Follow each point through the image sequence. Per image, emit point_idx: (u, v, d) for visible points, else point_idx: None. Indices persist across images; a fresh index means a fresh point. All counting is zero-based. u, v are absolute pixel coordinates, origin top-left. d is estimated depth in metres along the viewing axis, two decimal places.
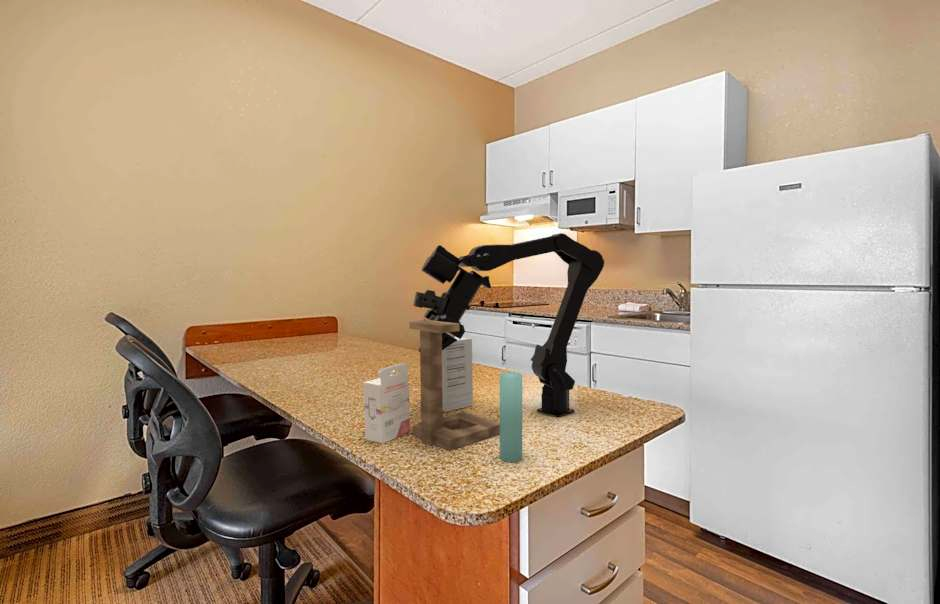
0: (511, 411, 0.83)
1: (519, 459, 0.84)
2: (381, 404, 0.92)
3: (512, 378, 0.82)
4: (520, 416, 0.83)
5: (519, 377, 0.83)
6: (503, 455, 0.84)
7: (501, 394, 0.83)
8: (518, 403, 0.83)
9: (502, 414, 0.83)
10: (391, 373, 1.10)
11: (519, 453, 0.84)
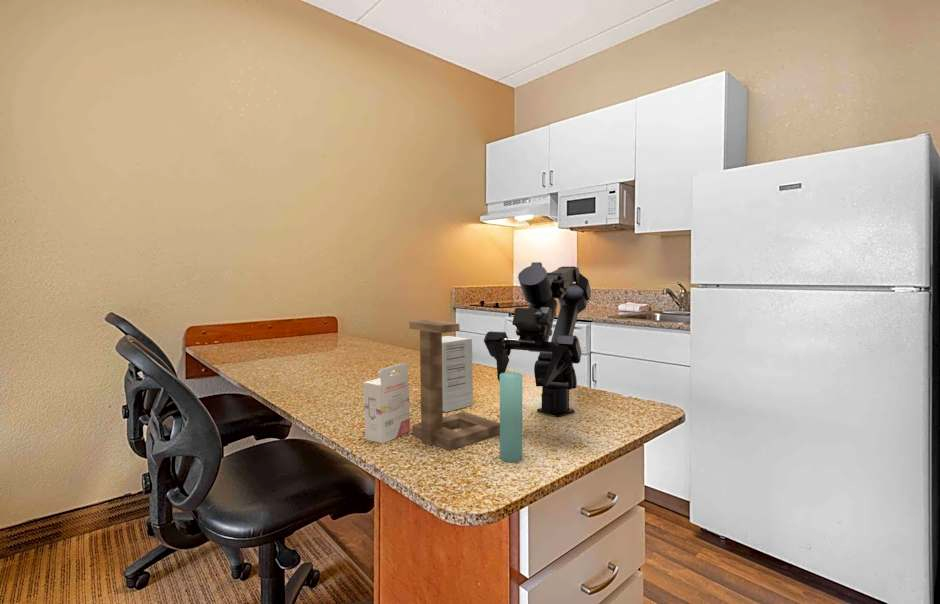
0: (511, 411, 0.83)
1: (519, 459, 0.84)
2: (381, 404, 0.92)
3: (512, 378, 0.82)
4: (520, 416, 0.83)
5: (519, 377, 0.83)
6: (503, 455, 0.84)
7: (501, 394, 0.83)
8: (518, 403, 0.83)
9: (502, 414, 0.83)
10: (391, 373, 1.10)
11: (519, 453, 0.84)
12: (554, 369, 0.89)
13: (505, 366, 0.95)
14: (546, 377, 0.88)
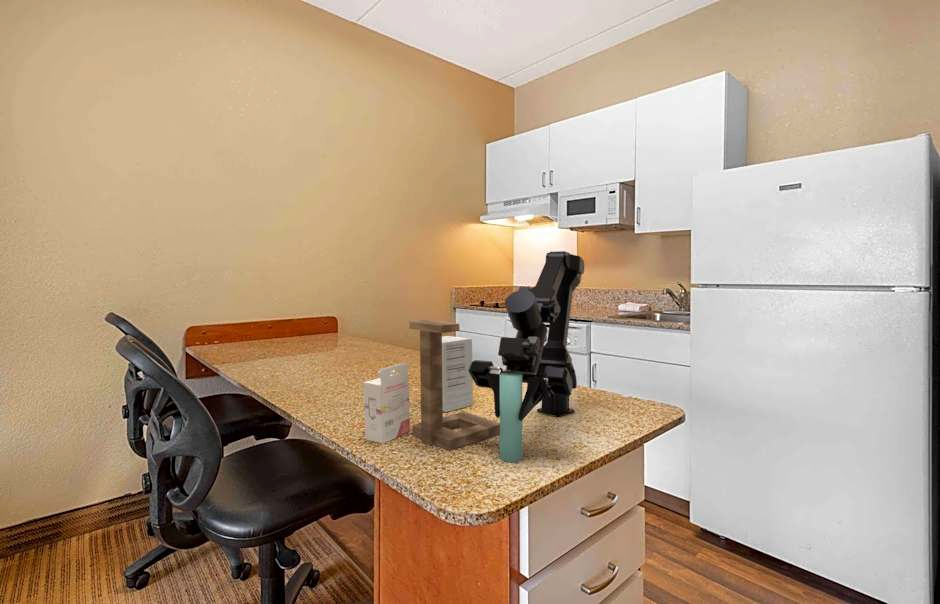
0: (511, 411, 0.83)
1: (519, 459, 0.84)
2: (381, 404, 0.92)
3: (512, 378, 0.82)
4: None
5: (519, 377, 0.83)
6: (504, 455, 0.84)
7: (501, 394, 0.83)
8: (518, 403, 0.83)
9: (502, 414, 0.83)
10: (391, 373, 1.10)
11: (519, 453, 0.84)
12: (529, 402, 0.84)
13: None
14: (520, 411, 0.83)
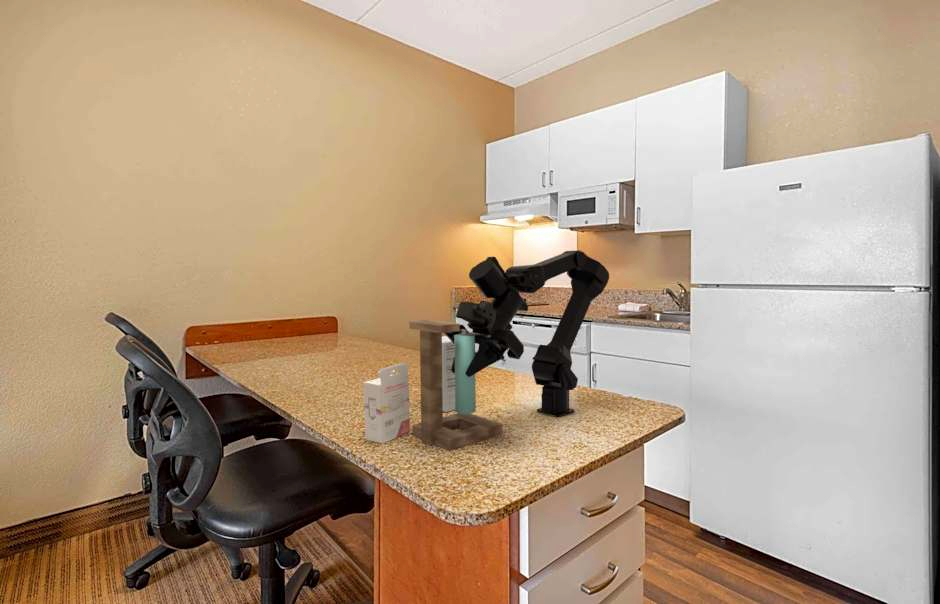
0: (460, 367, 0.91)
1: (468, 412, 0.92)
2: (381, 404, 0.92)
3: (460, 337, 0.91)
4: None
5: (468, 337, 0.91)
6: (456, 406, 0.93)
7: None
8: (466, 361, 0.91)
9: (455, 370, 0.93)
10: (391, 373, 1.10)
11: (469, 406, 0.92)
12: (478, 361, 0.91)
13: None
14: (468, 368, 0.91)
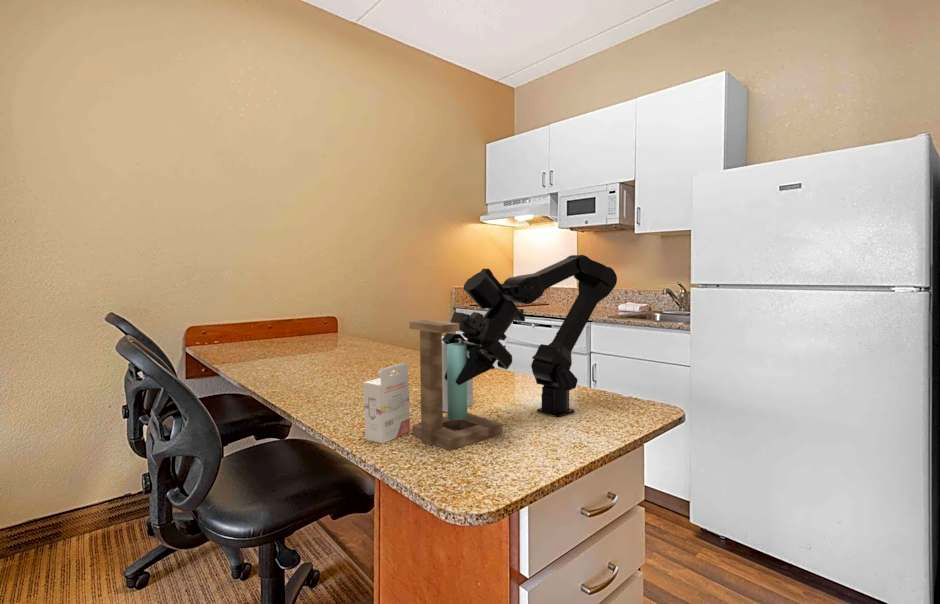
0: (451, 375, 0.95)
1: (459, 419, 0.96)
2: (381, 404, 0.92)
3: (451, 347, 0.95)
4: None
5: (458, 346, 0.95)
6: None
7: (447, 360, 0.97)
8: (457, 369, 0.95)
9: (447, 377, 0.97)
10: (391, 373, 1.10)
11: (459, 413, 0.95)
12: (468, 370, 0.94)
13: None
14: (458, 377, 0.94)
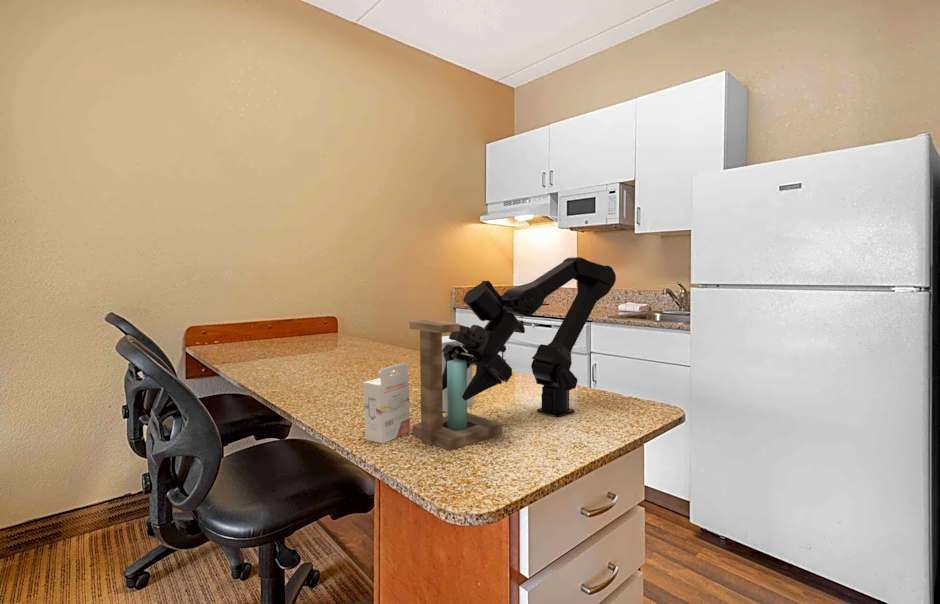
0: (451, 392, 0.95)
1: None
2: (381, 404, 0.92)
3: (451, 364, 0.95)
4: (460, 398, 0.95)
5: (458, 364, 0.95)
6: None
7: (447, 377, 0.97)
8: (457, 387, 0.95)
9: (447, 394, 0.97)
10: (391, 373, 1.10)
11: None
12: (475, 385, 0.93)
13: None
14: (465, 392, 0.93)
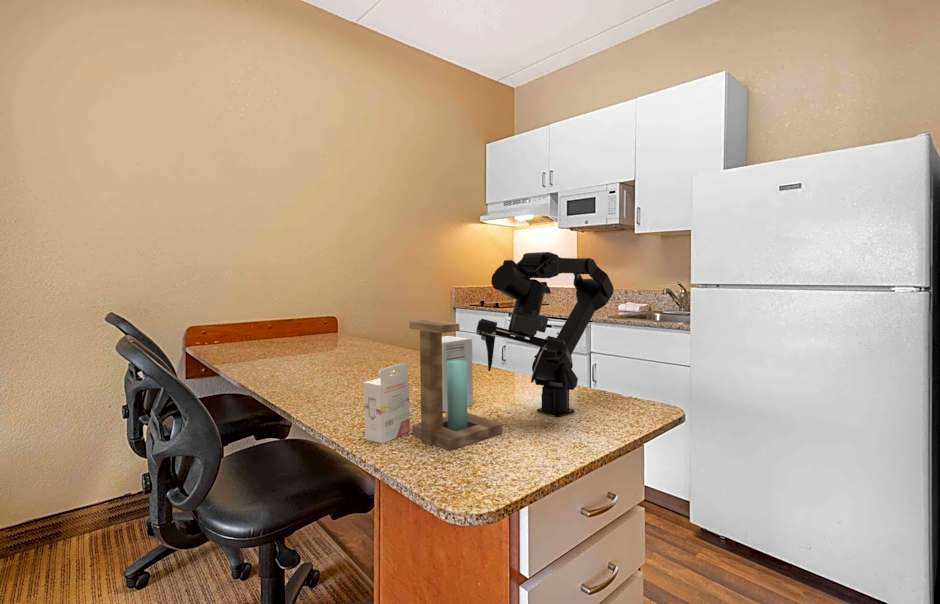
0: (451, 392, 0.95)
1: None
2: (381, 404, 0.92)
3: (451, 364, 0.95)
4: (460, 398, 0.95)
5: (458, 364, 0.95)
6: None
7: (447, 377, 0.97)
8: (457, 387, 0.95)
9: (447, 394, 0.97)
10: (391, 373, 1.10)
11: None
12: (540, 368, 1.00)
13: None
14: (533, 376, 0.99)
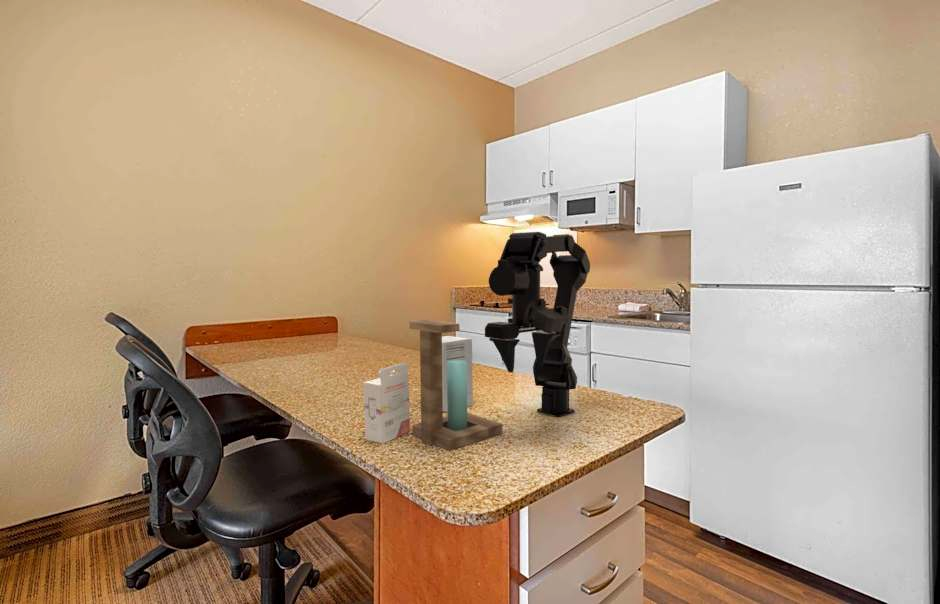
0: (451, 392, 0.95)
1: None
2: (381, 404, 0.92)
3: (451, 364, 0.95)
4: (460, 398, 0.95)
5: (458, 364, 0.95)
6: None
7: (447, 377, 0.97)
8: (457, 387, 0.95)
9: (447, 394, 0.97)
10: (391, 373, 1.10)
11: None
12: None
13: None
14: (543, 361, 1.01)
